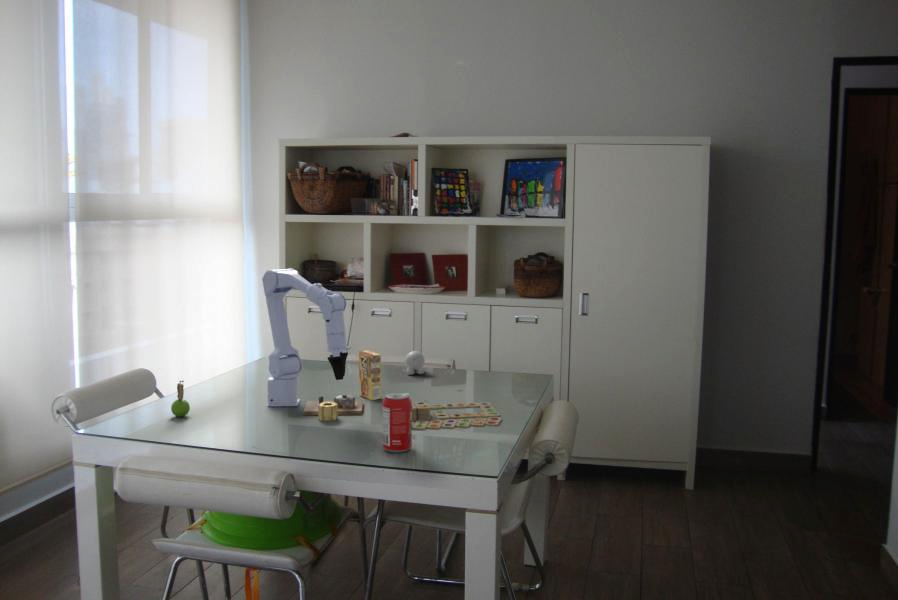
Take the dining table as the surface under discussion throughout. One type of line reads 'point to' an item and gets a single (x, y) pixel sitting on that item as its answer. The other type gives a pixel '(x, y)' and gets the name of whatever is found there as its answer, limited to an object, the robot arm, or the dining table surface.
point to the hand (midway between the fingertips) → (340, 378)
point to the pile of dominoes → (453, 416)
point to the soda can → (397, 422)
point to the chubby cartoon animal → (414, 363)
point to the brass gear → (328, 411)
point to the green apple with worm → (180, 403)
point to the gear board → (344, 402)
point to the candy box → (370, 374)
